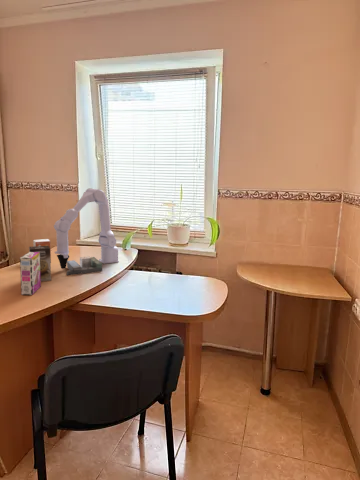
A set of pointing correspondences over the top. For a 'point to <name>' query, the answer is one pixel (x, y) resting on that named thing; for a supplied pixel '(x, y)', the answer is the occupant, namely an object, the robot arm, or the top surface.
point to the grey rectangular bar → (73, 265)
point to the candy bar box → (30, 273)
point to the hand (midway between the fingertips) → (63, 268)
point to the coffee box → (43, 261)
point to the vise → (95, 266)
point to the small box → (42, 244)
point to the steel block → (85, 262)
